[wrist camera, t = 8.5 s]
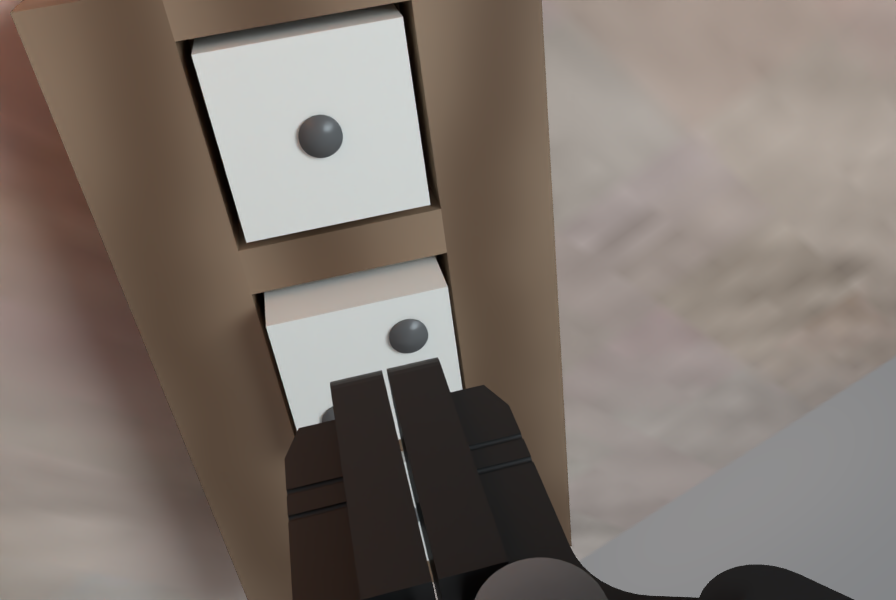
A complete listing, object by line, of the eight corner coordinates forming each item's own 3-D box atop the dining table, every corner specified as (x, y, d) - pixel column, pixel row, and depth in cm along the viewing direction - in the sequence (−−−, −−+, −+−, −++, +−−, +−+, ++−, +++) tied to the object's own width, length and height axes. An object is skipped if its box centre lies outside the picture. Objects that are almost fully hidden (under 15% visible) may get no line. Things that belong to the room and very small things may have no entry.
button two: (429, 243, 24) (448, 288, 22) (449, 373, 27) (467, 425, 25) (263, 278, 24) (266, 328, 22) (300, 407, 27) (306, 463, 24)
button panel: (498, -94, 22) (536, -77, 19) (543, 481, 34) (571, 545, 31) (42, -18, 21) (10, 12, 18) (257, 553, 33) (259, 627, 30)
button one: (386, -6, 21) (403, 17, 19) (413, 168, 24) (431, 206, 22) (196, 27, 21) (191, 55, 19) (245, 202, 24) (246, 244, 21)
